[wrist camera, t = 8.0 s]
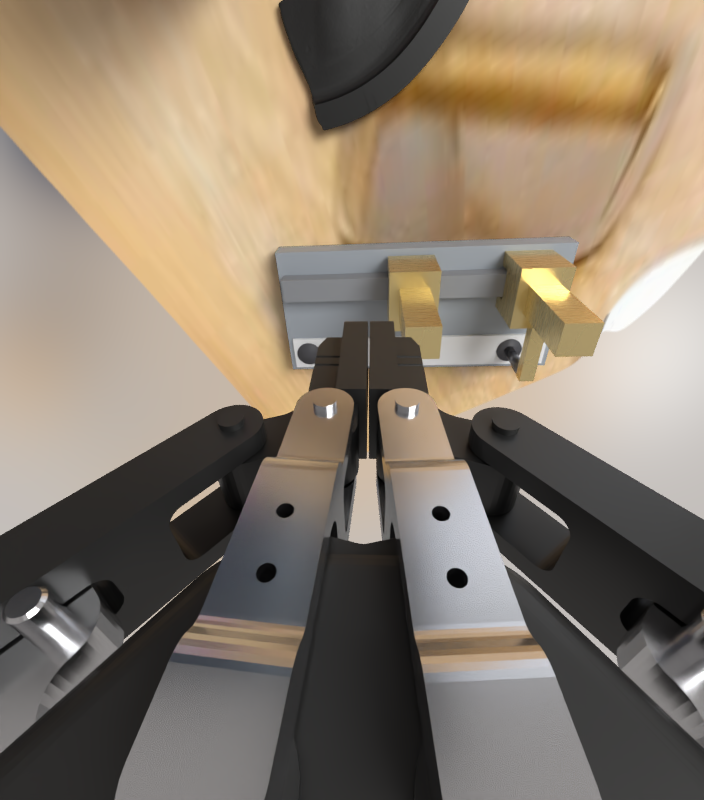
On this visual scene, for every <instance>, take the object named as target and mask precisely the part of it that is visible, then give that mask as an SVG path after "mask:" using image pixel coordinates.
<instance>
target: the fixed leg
mask: <svg viewBox="0 0 704 800" xmlns="http://www.w3.org/2000/svg"><path fill="white" fill-rule="evenodd" d="M503 266H504V267H505V269H506V270H507V275H506V281H505V286H504V291H503V297H497V299H496V305H495V307H496V308H497V310H498V311H499V313H500V314H501V316H502V318H503V319H504V321H505V322H506V324H507V325H508V327H509V328H510V329H526V328H527V330H526V335H525V339H524V343H523V347H522V352H521V356H520V357H519V355H518V354H517V352H516V350H515V349H514V347H512V346H508V347H506V348H505V349H504V353H505V355H506V357H507V359H508V360H509V362H510V364H511V366H512V368H513V369H514V371H515V373H516V376H517V378H518V380H519V381H533V380H534V376H535V373H536V369H537V365H538V361H539V358H540V354H541V350H542V347H543V343H544V342H545V344H546V345H547V346H548V348H549V349H550V350H551V352H552V353H553V354H554V356H555V357H572V356H593V353H594V350H595V348H596V345H597V342H598V339H599V337H600V334H601V331H602V328H603V325H604V322H603V321H602V320H601V319H600V318H598V317H597V316H596V315H595V314H594V313H593V312H592V311H591V310H589V309H588V308H587V307H586V306H585V305H584V304H583V303H582V302H580V301H579V300H578V299H577V298H576V297H575V296H574V295H573V294H572V293H570V288H571V285H572V282H573V278H574V275H575V271H576V268H577V267H576V266H575V265H573V264H572V263H571V262H569V261H568V260H567V259H565V258H564V257H562V256H561V255H560V254H558V253H557V252H556V251H554V250H553V249H552V250H523V251H505V255H504V260H503Z"/></svg>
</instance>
